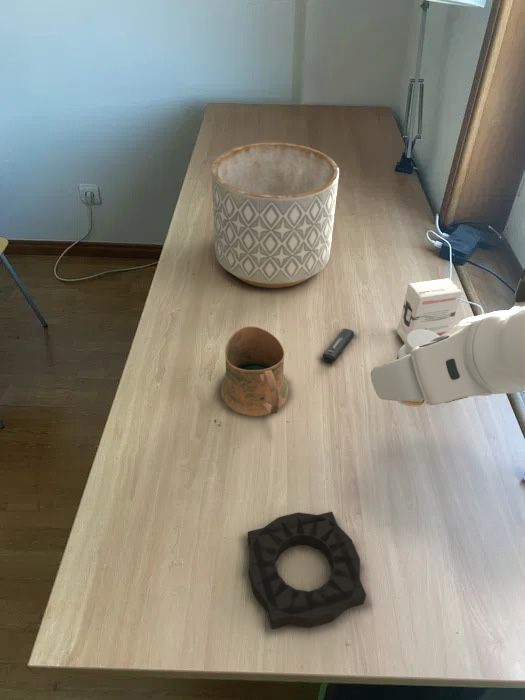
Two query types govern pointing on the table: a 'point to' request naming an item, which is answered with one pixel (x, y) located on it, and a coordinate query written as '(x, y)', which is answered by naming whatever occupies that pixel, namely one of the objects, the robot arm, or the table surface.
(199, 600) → the table surface
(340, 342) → the usb stick
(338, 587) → the base pad
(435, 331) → the ink box
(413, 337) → the pill bottle
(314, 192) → the planter
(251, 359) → the mug
